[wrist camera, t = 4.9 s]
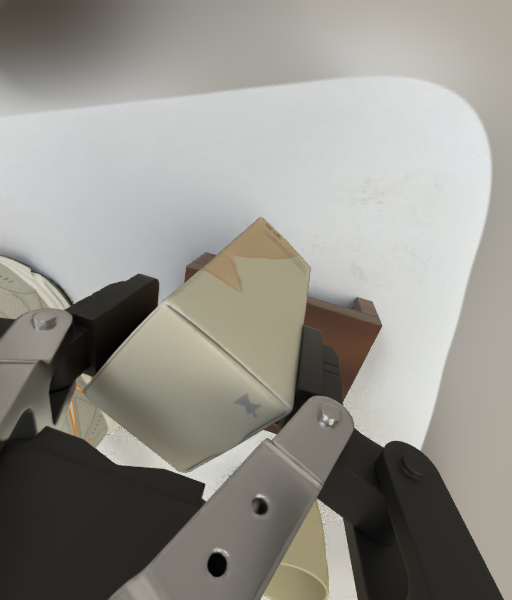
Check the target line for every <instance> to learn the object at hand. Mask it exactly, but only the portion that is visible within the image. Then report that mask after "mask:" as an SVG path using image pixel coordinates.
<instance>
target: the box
mask: <svg viewBox="0 0 512 600" xmlns="http://www.w3.org/2000/svg"><path fill="white" fill-rule="evenodd" d="M310 271H311V268H310V266H309V265H308V264H307V262H306V261H305V260H304V259H303V258H302V257H301V256H300V255H299V254H298V252H297V251H296V250H295V249H294V248H293V247H292V246H291V245H290V244H289V243H288V242H287V241H286V240H285V239H284V238H283V237H282V236H281V235H280V234H279V233H278V232H277V231H276V230H275V229H274V228H273V227H272V226H271V225H270V224H269V223H268V222H267V221H266V220H265V219H264V218H262V217H260V218H258V219H257V220H256V221H255V222H254V223H253V224H252V225H250V226H249V227H248V228H247V229H246V230H245V231H244V232H243V233H241V234H240V235H239V236H238V237H237V238H236V239H234V240H233V241H232V242H231V243H230V244H229V245H228V246H227V247H225V248H224V249H223V250H222V251H221V252H220V253H219V254H217V255H216V256H215V257H214V258H213V259H212V260H211V261H210V262H208V263H207V264H206V265H205V266H204V267H203V268H201V269H200V270H199V271H198V272H197V273H196V274H195V275H193V276H192V277H191V278H190V279H189V280H188V281H186V282H185V283H184V284H183V285H182V286H181V287H179V288H178V289H177V290H176V291H175V292H173V293H172V294H171V295H170V296H169V297H167V298H166V299H165V300H164V301H163V302H162V303H161V304H160V305H159V306H158V307H157V308H156V309H155V310H154V311H153V312H152V313H151V314H150V315H149V316H148V317H147V318H146V319H145V320H144V321H143V322H142V323H141V324H140V325H139V326H138V327H137V328H136V329H135V330H134V331H133V332H132V333H131V335H130V336H129V337H128V338H127V339H126V340H125V341H124V342H123V343H122V344H121V345H120V347H119V348H118V349H117V350H116V351H115V352H114V353H113V355H112V356H111V357H110V358H109V359H108V360H107V362H106V363H105V364H104V365H103V366H102V367H101V369H100V370H99V371H98V372H97V373H96V375H95V376H94V377H93V378H92V380H91V381H90V382H89V383H88V385H87V386H86V387H85V388H84V389H83V391H82V392H83V394H84V395H85V396H86V397H87V398H88V399H89V400H90V401H91V402H92V403H93V404H94V405H96V406H97V407H98V408H99V409H100V410H102V411H103V412H104V413H105V414H107V415H108V416H109V417H110V418H112V419H113V420H114V421H115V422H117V423H118V424H119V425H121V426H122V427H123V428H124V429H126V430H127V431H128V432H130V433H131V434H132V435H133V436H135V437H136V438H137V439H138V440H140V441H141V442H142V443H144V444H145V445H146V446H147V447H149V448H150V449H151V450H152V451H154V452H155V453H156V454H157V455H159V456H160V457H161V458H162V459H164V460H165V461H166V462H168V463H169V464H170V465H171V466H173V467H174V468H175V469H176V470H177V471H179V472H183V473H187V472H191V471H192V470H194V469H196V468H198V467H199V466H201V465H203V464H205V463H207V462H208V461H210V460H212V459H214V458H216V457H217V456H219V455H221V454H223V453H225V452H226V451H228V450H230V449H232V448H234V447H235V446H237V445H239V444H240V443H242V442H243V441H245V440H247V439H249V438H250V437H252V436H254V435H255V434H257V433H259V432H260V431H262V430H264V429H265V428H267V427H269V426H270V425H272V424H274V423H275V422H277V421H279V420H280V419H282V418H284V417H285V416H287V415H289V414H290V413H291V411H292V410H293V405H294V398H295V390H296V381H297V374H298V365H299V357H300V349H301V341H302V333H303V325H304V318H305V310H306V302H307V294H308V286H309V279H310Z"/></svg>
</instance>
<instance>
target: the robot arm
mask: <svg viewBox="0 0 512 600" xmlns="http://www.w3.org/2000/svg"><path fill="white" fill-rule="evenodd" d="M158 295H159V281H158V279H155V278H152V277H149V276H146V275H142V274H137V275H135V276H134V277H132V278H130V279H129V280H127V281H121V282H117V283H113V284H110V285H108V286H106V287H104V288H102V289H101V290H100V291H97V292H95V293H93V294H92V296H88V297H86V298H85V299H83V300H81V301H79V302H77V303H76V304H74V305H72V306H70V307H68V308H67V309H65V310H61V309H55V308H43V309H36V310H32V311H29V312H26V313H24V314H22V315H20V316H19V317H18V318H17V319H10V318H0V600H260V599H261V597H262V596H263V594H264V592H265V590H266V588H267V587H268V585H269V583H270V581H271V579H272V577H273V576H274V574H275V572H276V570H277V568H278V567H279V565H280V563H281V561H282V559H283V558H284V556H285V554H286V552H287V550H288V549H289V547H290V545H291V543H292V541H293V540H294V538H295V536H296V534H297V532H298V531H299V529H300V527H301V525H302V523H303V522H304V520H305V518H306V516H307V514H308V513H309V511H310V509H311V507H312V505H313V504H314V502H315V500H316V498H317V499H319V500H320V501H321V502H323V503H324V504H325V505H327V506H328V507H329V508H331V509H332V510H333V511H335V512H336V513H337V514H339V515H340V516H341V517H343V521H344V526H345V532H346V537H347V543H348V548H349V554H350V559H351V565H352V570H353V576H354V581H355V587H356V592H357V598H358V600H504V599H503V597H502V595H501V593H500V591H499V589H498V587H497V585H496V583H495V581H494V580H493V578H492V576H491V574H490V572H489V570H488V568H487V566H486V564H485V562H484V560H483V558H482V556H481V554H480V552H479V550H478V548H477V546H476V544H475V542H474V540H473V539H472V536H471V535H470V533H469V531H468V529H467V527H466V525H465V523H464V521H463V519H462V517H461V515H460V513H459V511H458V509H457V507H456V505H455V503H454V501H453V500H452V497H451V495H450V493H449V491H448V490H447V488H446V486H445V484H444V482H443V480H442V478H441V476H440V474H439V472H438V470H437V469H436V467H435V466H434V464H433V463H432V462H431V461H430V460H429V459H428V457H426V456H425V455H424V454H423V453H422V452H421V451H419V450H418V449H417V448H415V447H413V446H411V445H409V444H407V443H404V442H401V441H392V442H389V443H387V444H386V446H385V447H384V448H383V447H382V446H380V445H378V444H377V443H375V442H373V441H372V440H370V439H369V438H367V437H365V436H364V435H362V434H361V433H360V432H359V431H357V430H356V429H355V428H354V422H353V419H352V417H351V415H350V413H349V412H348V411H347V409H346V408H345V407H344V406H343V401H342V390H341V380H340V369H339V359H338V356H337V354H336V353H335V351H334V349H333V348H332V347H330V346H327V345H324V344H323V338H322V331H321V330H318V329H315V328H312V327H309V326H305V325H303V333H302V341H301V349H300V357H299V365H298V374H297V381H296V390H295V398H294V405H293V410H292V411H291V413H290V414H289V415H287V416H285V417H284V418H282V419H280V420H279V427H278V433H277V435H276V436H275V437H274V438H273V439H272V440H270V439H268V438H267V439H265V440H264V441H263V442H261V443H260V445H259V446H258V447H257V448H256V449H255V450H254V451H253V452H252V453H251V454H250V455H249V456H248V457H247V459H246V460H245V461H244V462H243V463H242V464H241V465H240V466H239V467H238V468H237V469H236V470H235V472H234V473H233V474H232V475H231V476H230V477H229V478H228V479H227V480H226V481H225V482H224V483H223V485H222V486H221V487H220V488H219V489H218V490H217V491H216V492H215V493H214V494H213V495H212V496H211V498H210V499H209V500H208V501H207V502H206V501H205V500H203V499H202V496H203V492H204V488H205V484H204V483H202V482H199V481H196V480H193V479H191V478H188V477H185V476H182V475H180V474H177V473H174V472H172V471H169V470H166V469H158V468H145V467H133V466H121V465H117V464H115V463H113V462H112V461H111V460H109V459H108V458H107V457H106V456H104V455H103V454H102V453H100V452H99V451H98V450H97V449H95V448H94V447H93V446H92V445H90V444H89V443H88V442H87V441H85V440H84V439H81V438H79V437H76V436H73V435H70V434H68V433H65V432H62V431H60V430H61V427H62V424H63V422H64V419H65V417H66V414H67V411H68V409H69V406H70V404H71V401H72V398H73V396H74V393H75V390H76V388H77V378H78V377H79V376H80V375H82V374H86V375H89V376H91V377H94V376H95V375H96V373H97V372H98V371H99V370H100V369H101V367H102V366H103V365H104V364H105V363H106V362H107V360H108V359H109V358H110V357H111V356H112V355H113V353H114V352H115V351H116V350H117V349H118V348H119V347H120V345H121V344H122V343H123V342H124V341H125V340H126V339H127V338H128V337H129V336H130V335H131V333H132V332H133V331H134V330H135V329H136V328H137V327H138V326H139V325H140V324H141V323H142V322H143V321H144V320H145V319H146V318H147V317H148V316H149V315H150V314H151V313H152V312H153V311H154V310H155V309H156V308H157V307H158Z"/></svg>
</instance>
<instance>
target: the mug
mask: <svg viewBox="0 0 512 600" xmlns="http://www.w3.org/2000/svg"><path fill="white" fill-rule="evenodd" d="M263 595H264V596H266V597H267V598H269V599H271V600H327V599H328V596H329V575H328V566H327V560H326V550H325V538H324V530H323V523H322V519H321V514H320V511H319V507H318V504H317V500H315V502H314V504H313V505H312V507H311V509H310V511H309V513H308V514H307V516H306V518H305V520H304V522H303V523H302V525H301V527H300V529H299V531H298V532H297V534H296V536H295V538H294V540H293V541H292V543H291V545H290V547H289V549H288V550H287V552H286V554H285V556H284V558H283V559H282V561H281V563H280V565H279V567H278V568H277V570H276V572H275V574H274V576H273V577H272V579H271V581H270V583H269V585H268V587H267V588H266V590H265V592H264V594H263Z"/></svg>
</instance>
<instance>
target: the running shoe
mask: <svg viewBox="0 0 512 600" xmlns="http://www.w3.org/2000/svg"><path fill="white" fill-rule="evenodd" d="M70 306H71V303H70V301H69V300H68V298H67V297H66V295H65V294H64V293H63V292H62V290H61V289H60V288H59V287H58V286H57V285H56V284H55V283H54V282H52V281H51V280H50V279H48V278H46V277H45V276H42V275H40V274H38V273H32V272H31V268H30V267H29V266H27V265H26V264H24V263H22V262H20V261H18V260H15V259H12V258H10V257H7V256H4V255H0V318H10V319H17V318H18V317H19V316H20V315H22V314H24V313H26V312H29V311H32V310H36V309H43V308H55V309H61V310H65V309H67V308H68V307H70ZM92 378H93V377H91V376H89V375H86V374H82V375H80V376H79V377H78V378H77V388H76V390H75V393H74V396H73V398H72V401H71V404H70V406H69V409H68V411H67V414H66V417H65V419H64V422H63V424H62V427H61V430H60V431H62V432H65V433H68V434H70V435H73V436H76V437H79V438H81V439H84V440H85V441H87V442H88V443H89V444H90V445H92V446H93V447H94V448H95V447H96V446H97V445H98V444H99V443H100V442H101V441H102V439H103V438H104V436H106V435H109V434H111V433H113V432H114V431H116V430H117V429H118V428H119V426H120V425H119V424H118V423H117V422H115V421H114V420H113V419H112V418H110V417H109V416H108V415H107V414H105V413H104V412H103V411H102V410H100V409H99V408H98V407H97V406H96V405H94V404H93V403H92V402H91V401H90V400H89V399H88V398H87V397H86V396H85V395H84V394H83V392H82V391H83V389H84V388H85V387H86V386H87V385H88V383H89V382H90V381H91V380H92Z"/></svg>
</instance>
